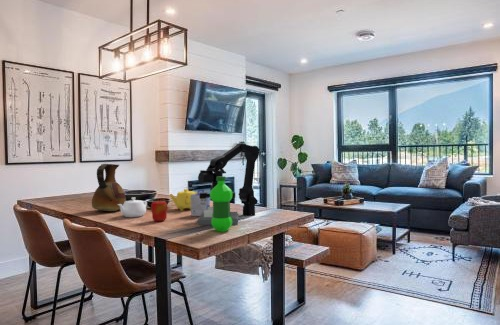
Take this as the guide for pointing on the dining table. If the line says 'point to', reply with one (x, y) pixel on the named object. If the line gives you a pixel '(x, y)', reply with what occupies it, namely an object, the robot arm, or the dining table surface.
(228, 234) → the dining table surface
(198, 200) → the ink cartridge box
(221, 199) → the plastic bottle
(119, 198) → the ceramic pitcher
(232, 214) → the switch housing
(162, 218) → the red rounded piece
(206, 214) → the pale grey cube
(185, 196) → the teapot
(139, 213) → the teapot
